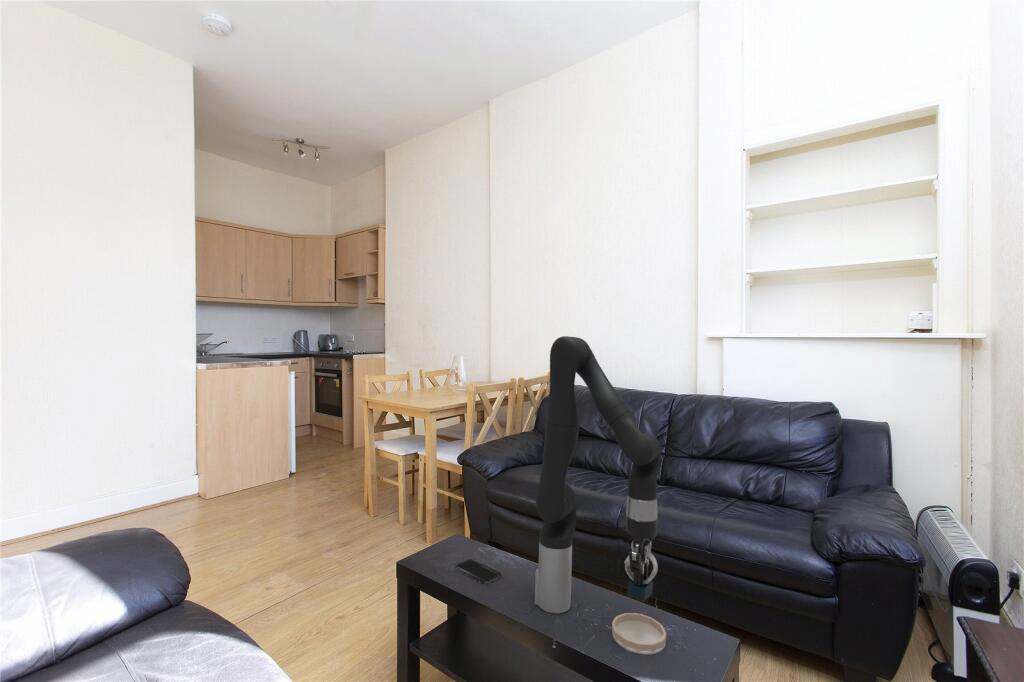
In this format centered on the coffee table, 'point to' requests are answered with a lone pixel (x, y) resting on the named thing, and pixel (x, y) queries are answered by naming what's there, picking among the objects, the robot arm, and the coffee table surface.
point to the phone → (478, 571)
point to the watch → (646, 590)
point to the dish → (638, 633)
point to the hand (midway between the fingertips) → (640, 583)
